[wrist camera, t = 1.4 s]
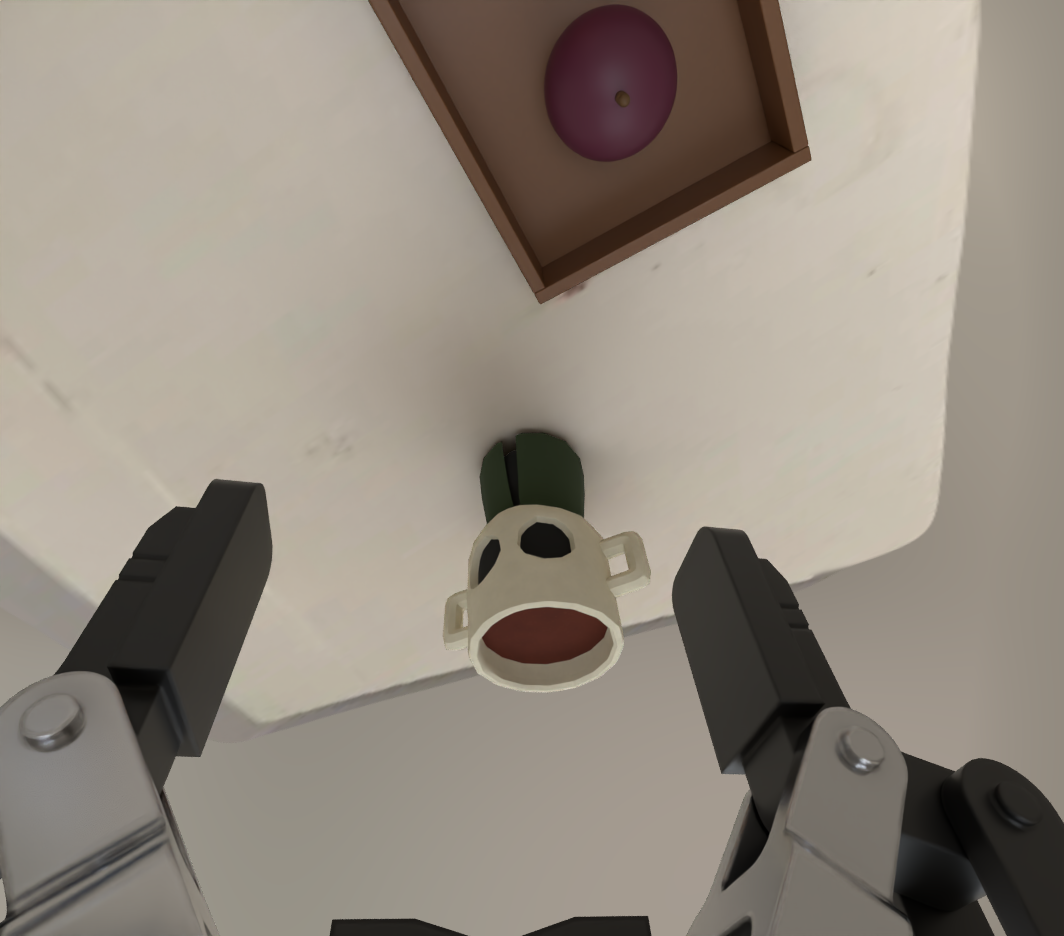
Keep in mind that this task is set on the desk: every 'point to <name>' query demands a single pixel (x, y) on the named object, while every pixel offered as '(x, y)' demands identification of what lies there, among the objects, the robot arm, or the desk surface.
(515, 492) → the character mug
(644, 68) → the plum
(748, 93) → the tray
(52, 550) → the desk surface
